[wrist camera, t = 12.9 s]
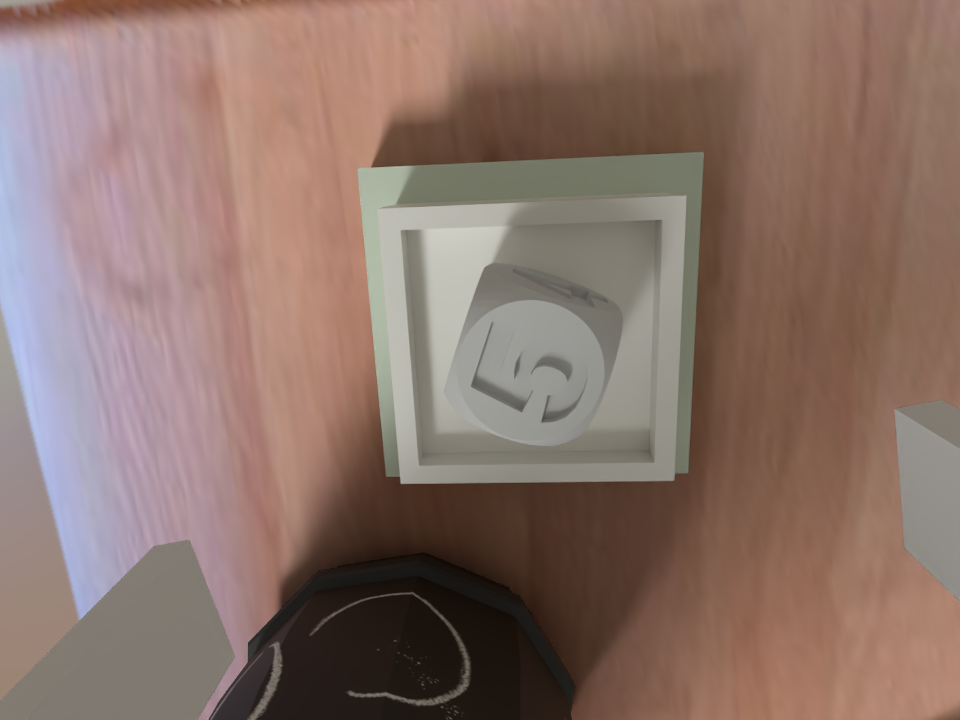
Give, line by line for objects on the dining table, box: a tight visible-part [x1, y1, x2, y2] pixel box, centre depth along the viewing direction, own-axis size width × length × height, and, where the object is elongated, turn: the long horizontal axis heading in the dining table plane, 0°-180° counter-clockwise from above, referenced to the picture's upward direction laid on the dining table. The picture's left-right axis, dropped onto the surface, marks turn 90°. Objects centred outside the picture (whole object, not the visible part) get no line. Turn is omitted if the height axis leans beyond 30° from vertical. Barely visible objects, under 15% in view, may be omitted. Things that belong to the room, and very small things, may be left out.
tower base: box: [357, 152, 704, 484], centre depth 28 cm, size 14×14×7 cm
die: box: [444, 263, 623, 446], centre depth 23 cm, size 5×5×5 cm
